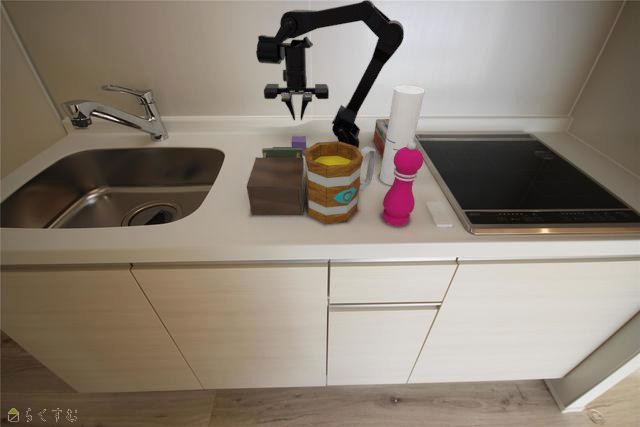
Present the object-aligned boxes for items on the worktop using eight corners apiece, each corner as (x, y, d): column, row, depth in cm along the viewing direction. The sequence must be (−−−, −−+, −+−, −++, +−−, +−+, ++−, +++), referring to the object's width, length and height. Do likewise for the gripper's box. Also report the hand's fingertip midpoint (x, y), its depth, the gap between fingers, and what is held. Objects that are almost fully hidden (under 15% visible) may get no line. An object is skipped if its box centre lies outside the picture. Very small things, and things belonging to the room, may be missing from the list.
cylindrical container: (389, 169, 88) (404, 83, 73) (409, 178, 84) (430, 89, 69) (374, 178, 84) (388, 89, 69) (395, 188, 80) (414, 96, 65)
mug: (322, 231, 66) (323, 175, 57) (295, 201, 75) (292, 149, 66) (386, 204, 74) (396, 152, 65) (354, 180, 83) (359, 131, 74)
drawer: (267, 160, 90) (264, 140, 86) (303, 160, 90) (302, 140, 86) (259, 192, 77) (255, 170, 73) (301, 192, 77) (300, 170, 73)
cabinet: (260, 184, 81) (255, 157, 76) (304, 184, 81) (303, 157, 76) (251, 215, 71) (246, 186, 65) (302, 215, 71) (301, 185, 66)
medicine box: (372, 139, 104) (375, 118, 99) (394, 139, 105) (398, 117, 100) (384, 160, 93) (387, 136, 88) (408, 159, 93) (413, 135, 88)
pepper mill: (377, 209, 73) (389, 134, 60) (405, 208, 73) (423, 133, 61) (384, 228, 67) (400, 150, 55) (414, 226, 68) (436, 149, 55)
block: (306, 148, 99) (305, 136, 96) (305, 154, 95) (305, 142, 92) (292, 148, 99) (292, 136, 96) (292, 154, 95) (291, 142, 92)
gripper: (327, 59, 87) (326, 110, 97) (266, 58, 86) (271, 110, 96) (329, 67, 78) (327, 123, 88) (260, 67, 78) (266, 123, 88)
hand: (297, 119), depth 90 cm, fingers closed
